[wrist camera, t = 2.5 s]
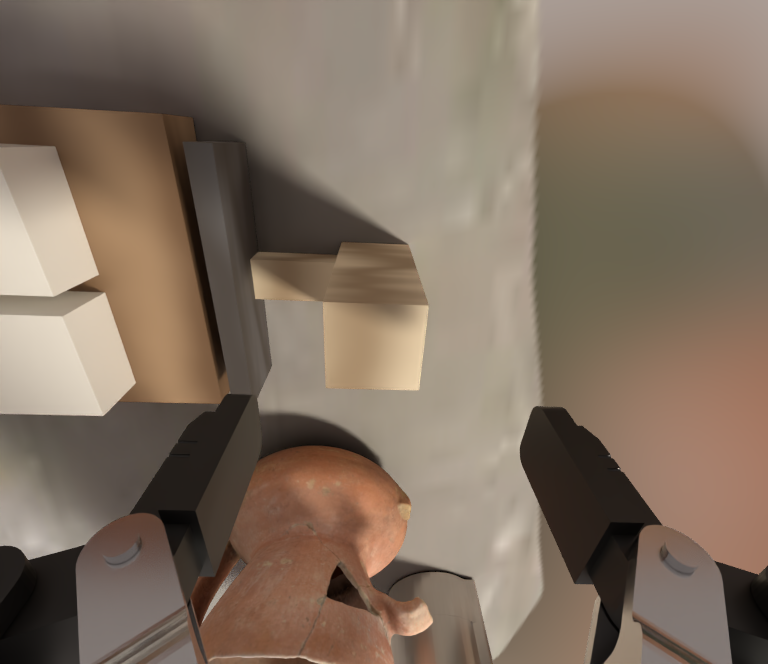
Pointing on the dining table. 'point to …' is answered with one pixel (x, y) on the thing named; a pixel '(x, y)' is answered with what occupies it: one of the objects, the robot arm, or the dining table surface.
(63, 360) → the tile
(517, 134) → the dining table surface
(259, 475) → the ceramic jug
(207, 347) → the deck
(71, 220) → the tile
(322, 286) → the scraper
